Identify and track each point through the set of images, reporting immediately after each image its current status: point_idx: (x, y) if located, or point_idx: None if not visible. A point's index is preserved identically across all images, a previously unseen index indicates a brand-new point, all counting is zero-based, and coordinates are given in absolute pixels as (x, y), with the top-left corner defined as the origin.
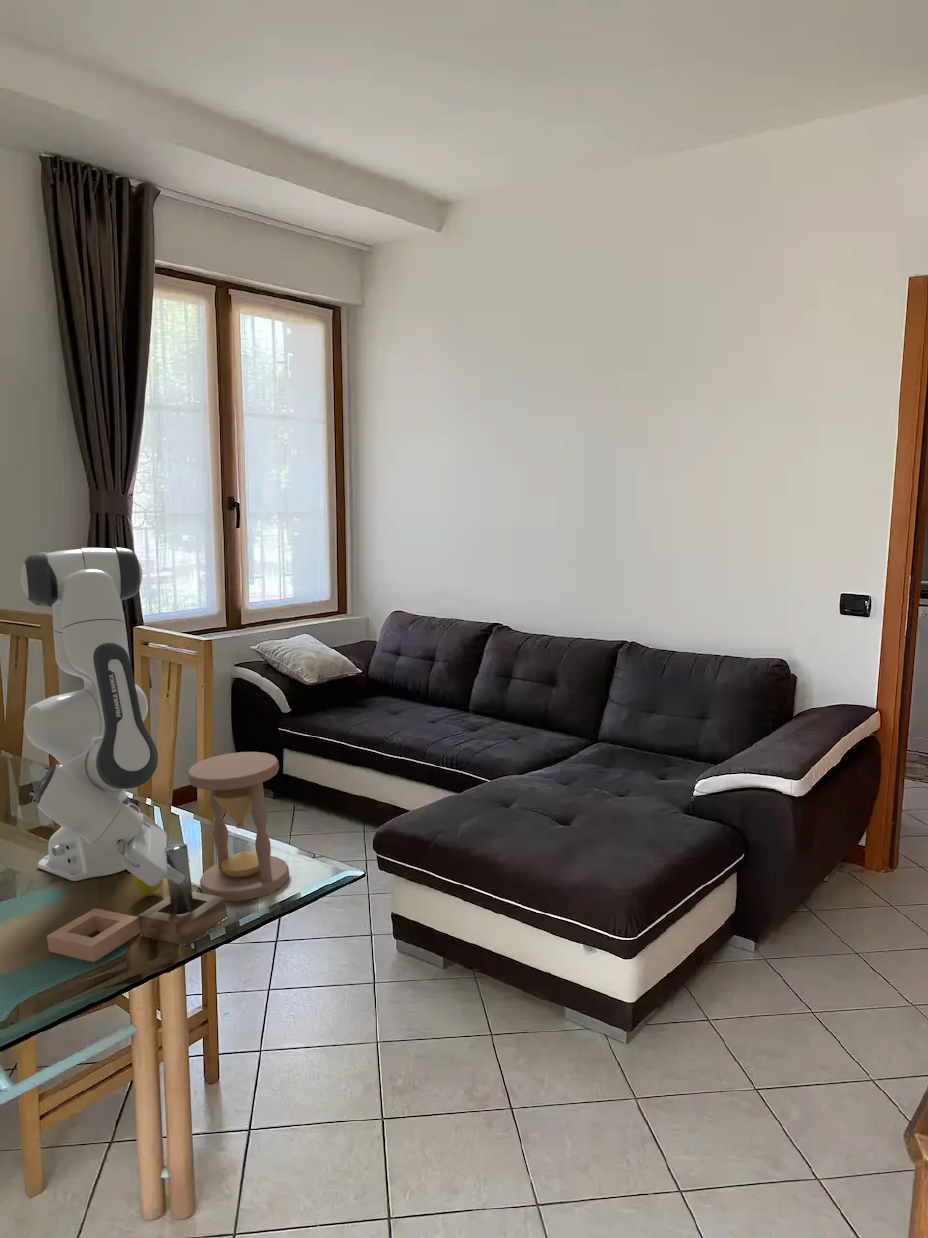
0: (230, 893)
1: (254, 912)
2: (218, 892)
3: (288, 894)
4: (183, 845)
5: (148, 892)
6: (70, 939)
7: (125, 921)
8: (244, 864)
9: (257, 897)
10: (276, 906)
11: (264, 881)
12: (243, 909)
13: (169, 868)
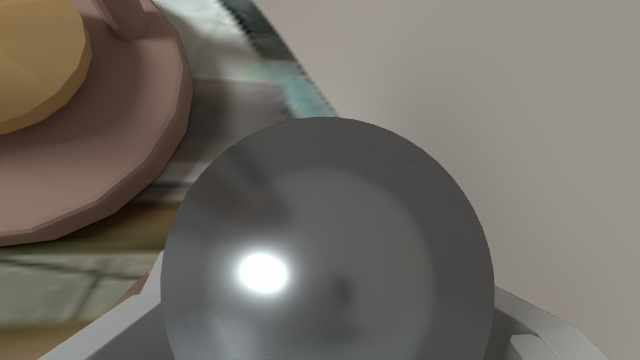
0: (167, 135)
1: (281, 95)
2: (136, 173)
3: (208, 9)
4: (289, 156)
5: None
6: None
7: None
8: (47, 39)
9: (191, 77)
10: (269, 42)
11: (145, 31)
12: (247, 120)
13: (587, 341)
